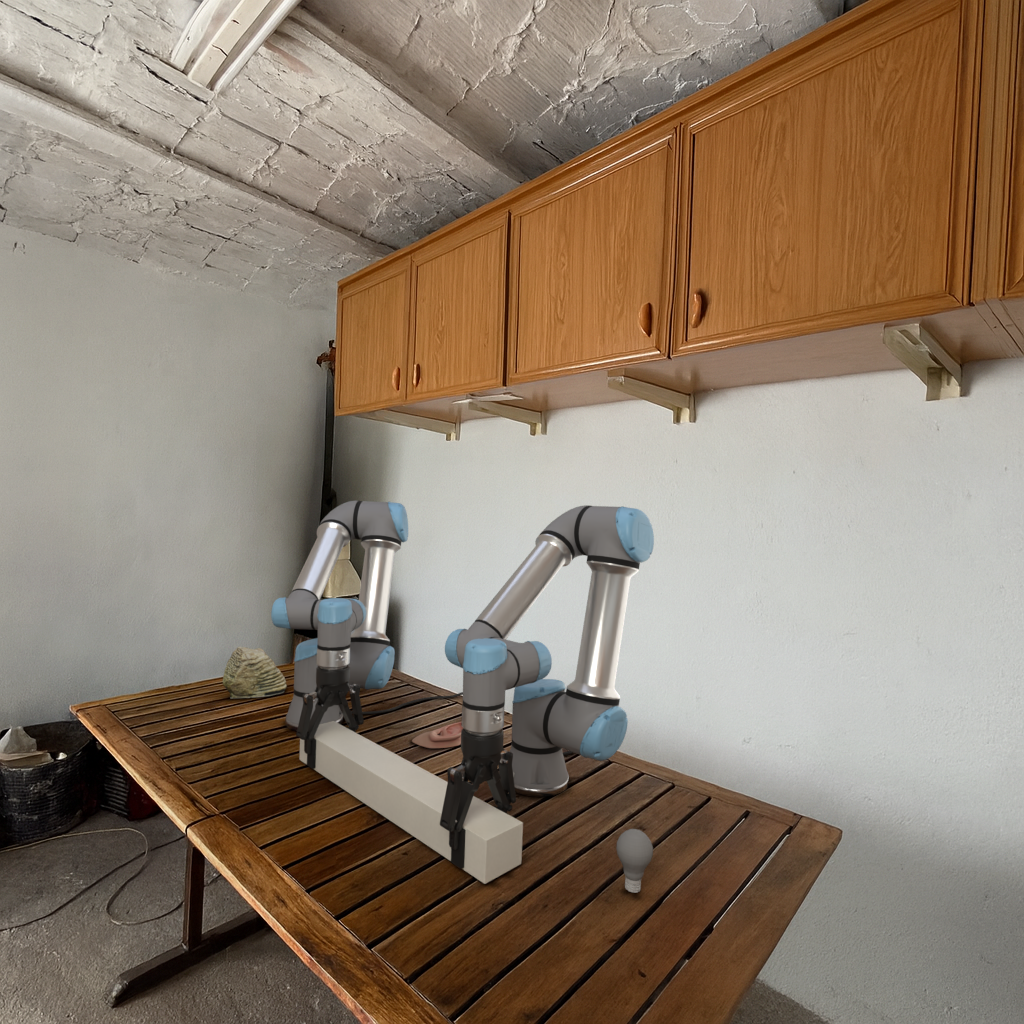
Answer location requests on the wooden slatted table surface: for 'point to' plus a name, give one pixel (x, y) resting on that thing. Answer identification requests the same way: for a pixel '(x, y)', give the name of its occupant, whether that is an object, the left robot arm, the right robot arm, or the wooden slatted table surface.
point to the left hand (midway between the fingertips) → (329, 760)
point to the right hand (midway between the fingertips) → (477, 854)
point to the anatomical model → (441, 737)
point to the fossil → (252, 674)
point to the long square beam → (415, 800)
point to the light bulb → (634, 857)
